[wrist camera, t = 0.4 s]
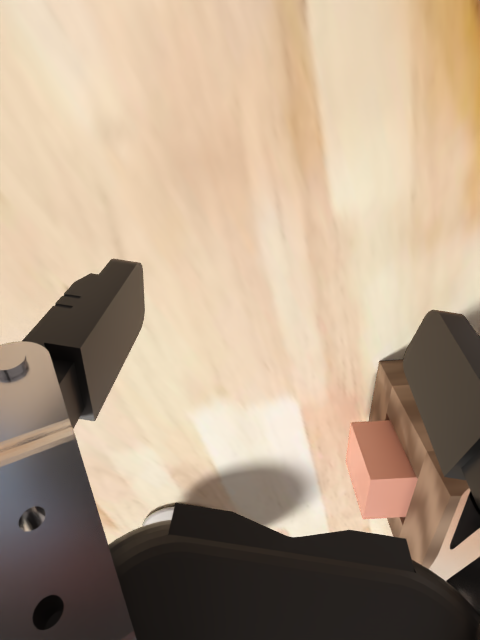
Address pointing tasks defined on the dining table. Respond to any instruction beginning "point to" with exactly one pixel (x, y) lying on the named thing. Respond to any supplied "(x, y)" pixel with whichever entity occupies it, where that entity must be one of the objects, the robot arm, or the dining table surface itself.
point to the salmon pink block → (379, 470)
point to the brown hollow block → (416, 467)
